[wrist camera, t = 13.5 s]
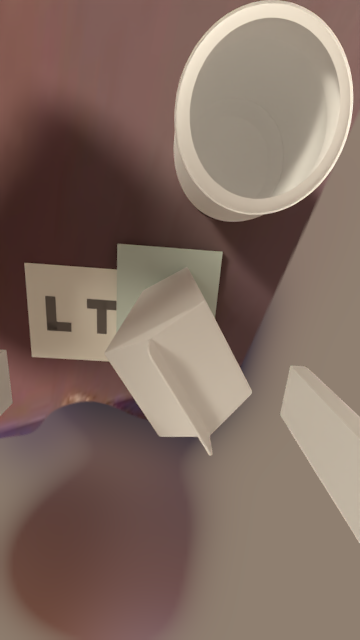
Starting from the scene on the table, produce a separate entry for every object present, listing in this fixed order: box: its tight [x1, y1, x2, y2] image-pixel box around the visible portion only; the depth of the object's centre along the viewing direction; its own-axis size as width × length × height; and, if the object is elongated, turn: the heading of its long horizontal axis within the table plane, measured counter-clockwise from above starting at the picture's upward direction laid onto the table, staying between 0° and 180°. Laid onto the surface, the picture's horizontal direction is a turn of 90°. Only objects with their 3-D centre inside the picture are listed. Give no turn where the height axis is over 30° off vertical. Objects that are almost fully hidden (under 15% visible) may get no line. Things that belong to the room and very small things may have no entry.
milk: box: [104, 267, 252, 456], centre depth 22 cm, size 6×6×22 cm
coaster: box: [116, 244, 223, 333], centre depth 33 cm, size 12×12×1 cm
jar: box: [174, 0, 353, 222], centre depth 23 cm, size 11×10×15 cm
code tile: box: [24, 263, 117, 361], centre depth 34 cm, size 12×12×1 cm
